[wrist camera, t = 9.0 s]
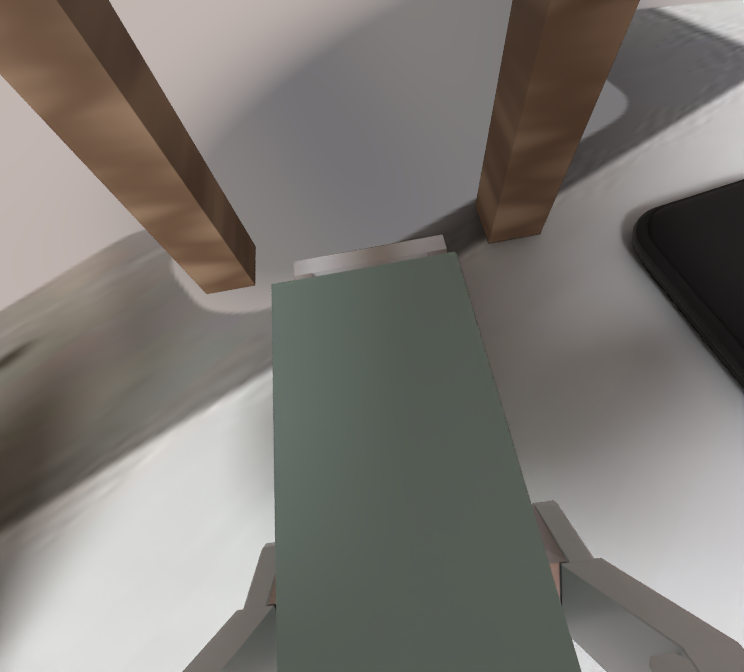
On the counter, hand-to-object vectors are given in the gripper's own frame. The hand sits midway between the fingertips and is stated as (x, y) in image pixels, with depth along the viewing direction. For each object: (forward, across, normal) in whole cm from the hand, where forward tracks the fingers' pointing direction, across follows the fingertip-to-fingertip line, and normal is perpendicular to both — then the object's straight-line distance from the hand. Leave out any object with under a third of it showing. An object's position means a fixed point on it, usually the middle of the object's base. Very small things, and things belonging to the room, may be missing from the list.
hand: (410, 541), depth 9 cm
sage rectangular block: (+4, 0, +2) cm, 5 cm away
